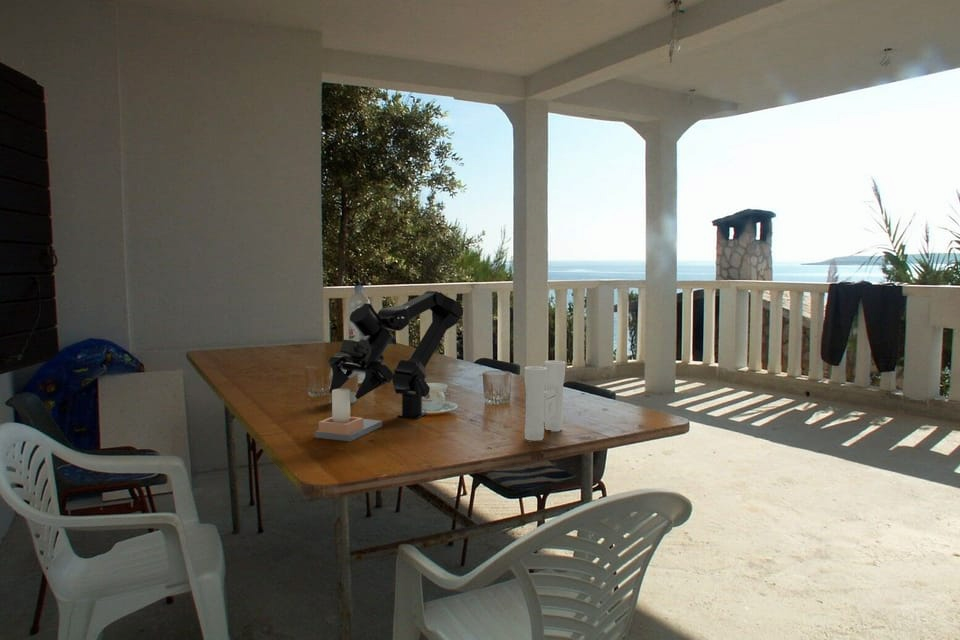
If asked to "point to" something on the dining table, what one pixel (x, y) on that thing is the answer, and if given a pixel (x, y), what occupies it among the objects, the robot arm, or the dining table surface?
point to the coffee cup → (350, 380)
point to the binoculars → (544, 398)
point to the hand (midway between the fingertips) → (343, 395)
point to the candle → (341, 406)
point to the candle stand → (346, 428)
